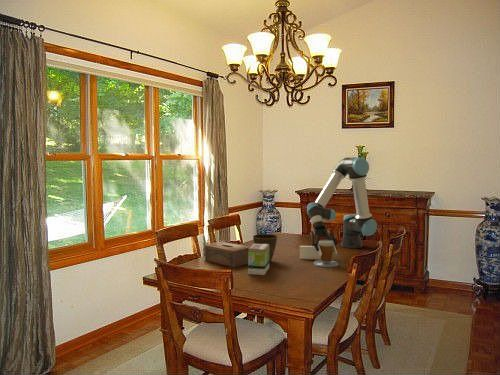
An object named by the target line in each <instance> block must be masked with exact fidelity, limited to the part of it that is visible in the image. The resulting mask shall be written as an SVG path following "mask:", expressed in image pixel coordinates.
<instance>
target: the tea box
mask: <svg viewBox="0 0 500 375" xmlns="http://www.w3.org/2000/svg"><path fill="white" fill-rule="evenodd" d="M249 247H250V248H249V249H248V263H247V264H248V265H247V274H248V275H256V276H257V275H259V276H265V275H266V274H267V272H268V270H269V269H270V262H269V244H254V243H253V244H251V245H250V246H249Z"/></svg>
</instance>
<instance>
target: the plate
mask: <svg viewBox="0 0 500 375" xmlns="http://www.w3.org/2000/svg"><path fill="white" fill-rule="evenodd" d="M339 265H340V263H339V262H338V261H336V260H333V259H332V260H331V261H330V262H323V261H321V260H319V259H317V260H314V261H313V266H316V267H319V268H336V267H339Z"/></svg>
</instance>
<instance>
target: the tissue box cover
mask: <svg viewBox="0 0 500 375" xmlns="http://www.w3.org/2000/svg"><path fill="white" fill-rule="evenodd" d="M250 247H251V246H246V245H241V244H237V243H230V242H226V241H217V242H212V243H207V244H205V245H204V260H205V261H207V262H210V263H215V264H219V265H223V266H227V265H228V266H227V267H232V268H236V267H240V266H242V265H246V264H248V249H249V248H250Z"/></svg>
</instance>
